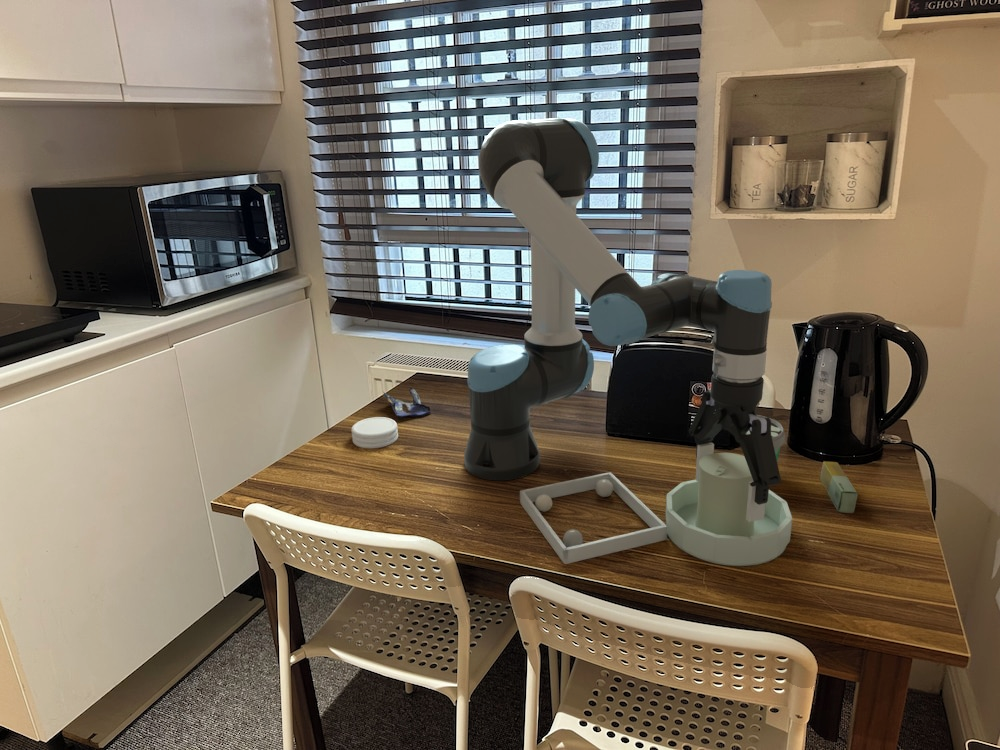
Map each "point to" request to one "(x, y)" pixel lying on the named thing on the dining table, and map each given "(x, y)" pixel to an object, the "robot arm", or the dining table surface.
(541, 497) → the pebble
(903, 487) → the dining table surface
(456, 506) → the dining table surface
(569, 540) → the pebble
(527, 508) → the parts tray
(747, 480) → the can
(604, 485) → the light grey ball
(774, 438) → the food container
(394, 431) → the round white tin
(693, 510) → the bowl
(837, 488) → the medication box
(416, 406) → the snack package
